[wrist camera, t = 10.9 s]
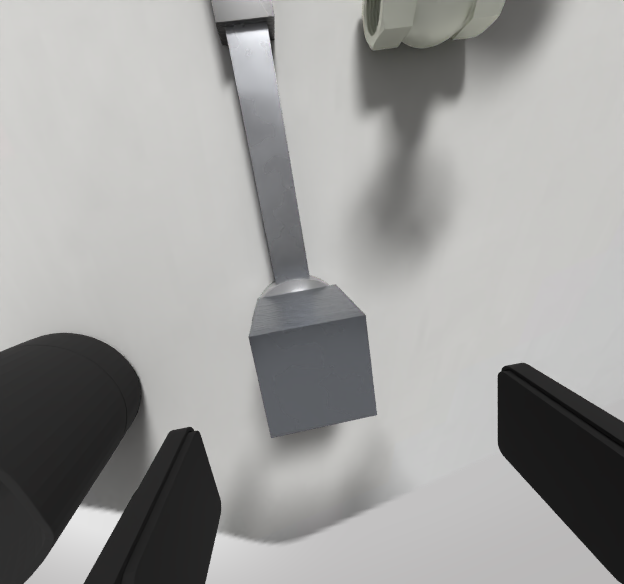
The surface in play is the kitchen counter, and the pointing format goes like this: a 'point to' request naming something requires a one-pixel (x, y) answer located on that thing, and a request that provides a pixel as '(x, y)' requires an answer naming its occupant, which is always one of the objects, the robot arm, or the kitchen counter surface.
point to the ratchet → (266, 138)
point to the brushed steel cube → (312, 360)
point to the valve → (425, 21)
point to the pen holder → (55, 438)
